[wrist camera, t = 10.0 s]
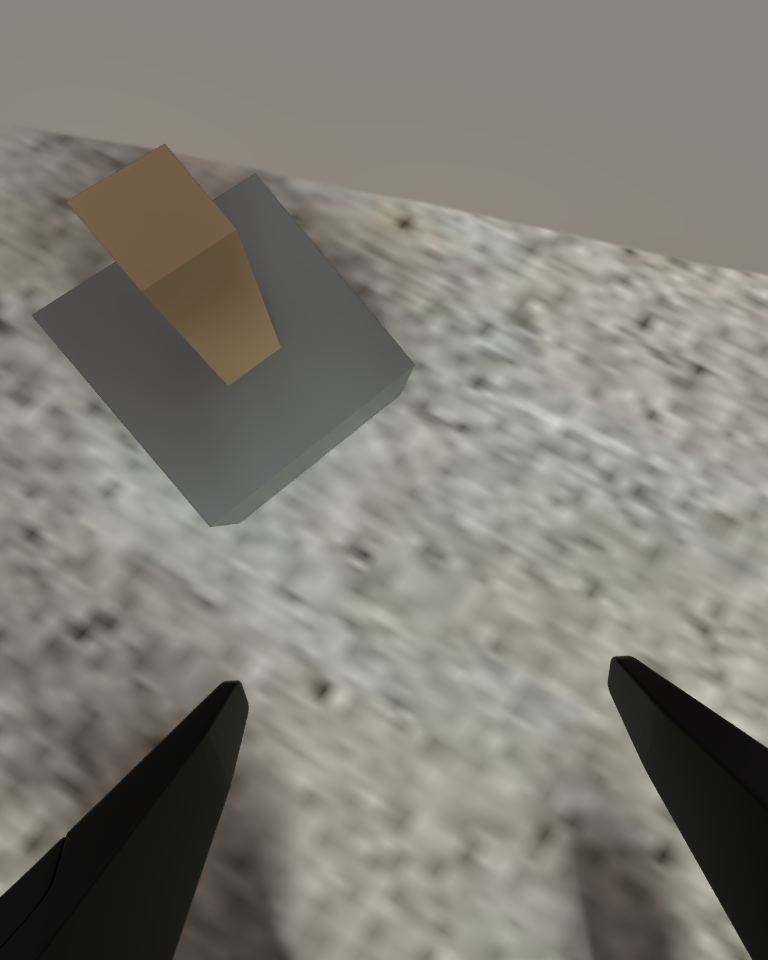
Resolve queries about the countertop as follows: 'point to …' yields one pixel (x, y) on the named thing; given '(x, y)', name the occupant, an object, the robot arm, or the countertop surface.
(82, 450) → the countertop surface
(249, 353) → the cover
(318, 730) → the countertop surface
